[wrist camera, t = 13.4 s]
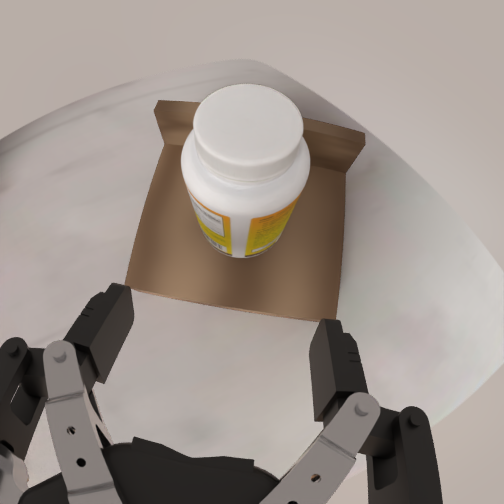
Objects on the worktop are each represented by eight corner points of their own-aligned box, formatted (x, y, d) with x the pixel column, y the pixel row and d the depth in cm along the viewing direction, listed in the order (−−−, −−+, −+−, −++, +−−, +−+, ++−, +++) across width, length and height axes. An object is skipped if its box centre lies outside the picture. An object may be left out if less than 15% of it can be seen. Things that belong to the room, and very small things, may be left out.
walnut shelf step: (138, 291, 21) (98, 275, 14) (174, 153, 24) (158, 100, 17) (322, 322, 21) (360, 320, 14) (334, 180, 24) (364, 133, 17)
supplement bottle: (287, 190, 20) (328, 85, 10) (276, 267, 19) (322, 202, 9) (209, 176, 20) (195, 64, 10) (191, 251, 19) (148, 172, 9)
